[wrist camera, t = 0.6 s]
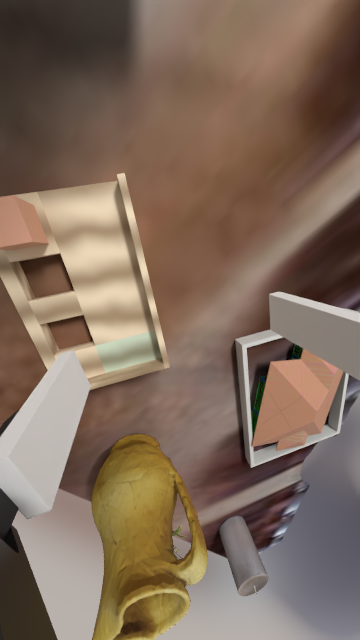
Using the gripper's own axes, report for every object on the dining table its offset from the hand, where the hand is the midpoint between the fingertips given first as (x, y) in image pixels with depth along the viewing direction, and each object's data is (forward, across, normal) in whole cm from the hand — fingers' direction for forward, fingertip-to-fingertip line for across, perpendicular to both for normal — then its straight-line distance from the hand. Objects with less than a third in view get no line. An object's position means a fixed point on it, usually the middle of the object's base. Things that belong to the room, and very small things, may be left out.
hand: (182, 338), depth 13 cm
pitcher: (+25, -14, -40) cm, 49 cm away
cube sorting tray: (+25, -11, +1) cm, 28 cm away
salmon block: (+23, -15, +12) cm, 30 cm away
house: (+25, +29, -38) cm, 54 cm away
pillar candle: (+25, +6, -88) cm, 92 cm away
